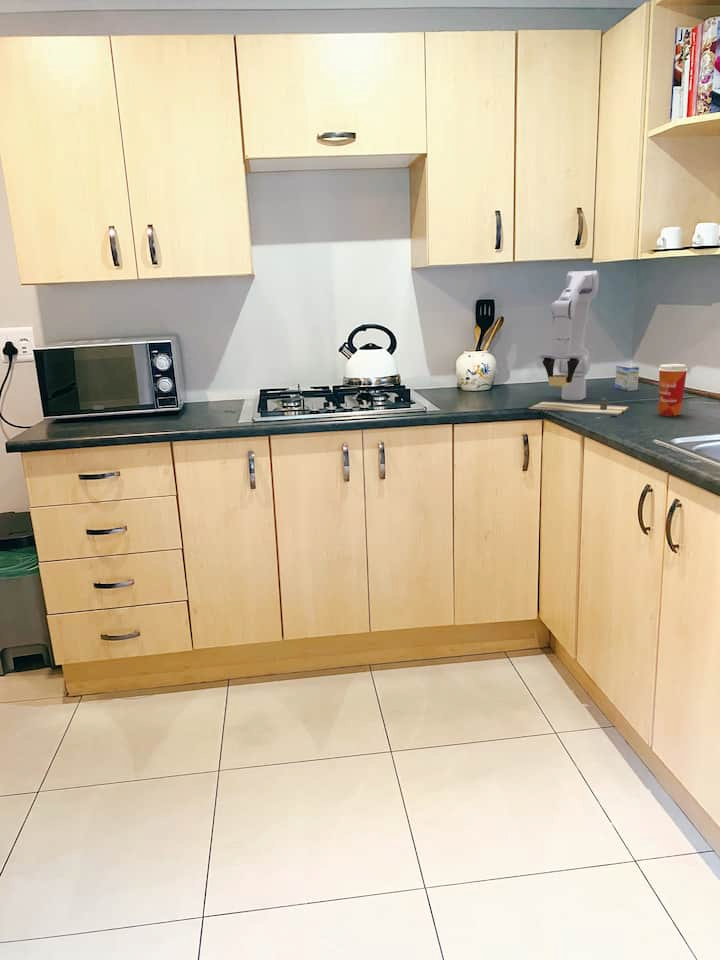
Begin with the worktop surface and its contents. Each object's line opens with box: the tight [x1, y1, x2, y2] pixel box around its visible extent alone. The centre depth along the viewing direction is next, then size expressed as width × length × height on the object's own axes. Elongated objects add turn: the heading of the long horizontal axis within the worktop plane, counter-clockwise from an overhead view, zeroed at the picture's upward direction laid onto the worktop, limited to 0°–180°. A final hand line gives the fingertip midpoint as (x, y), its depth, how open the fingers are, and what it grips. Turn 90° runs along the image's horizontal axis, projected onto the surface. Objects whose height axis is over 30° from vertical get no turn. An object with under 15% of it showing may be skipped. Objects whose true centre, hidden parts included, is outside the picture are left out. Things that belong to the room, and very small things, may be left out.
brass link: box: [548, 374, 571, 387], centre depth 232 cm, size 6×6×3 cm
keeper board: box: [529, 397, 629, 417], centre depth 230 cm, size 14×28×4 cm, turn 57°
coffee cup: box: [658, 363, 689, 417], centre depth 217 cm, size 8×8×15 cm
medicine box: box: [614, 364, 640, 392], centre depth 269 cm, size 8×4×9 cm, turn 17°
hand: (560, 382), depth 232 cm, fingers closed on brass link, 5 cm apart
